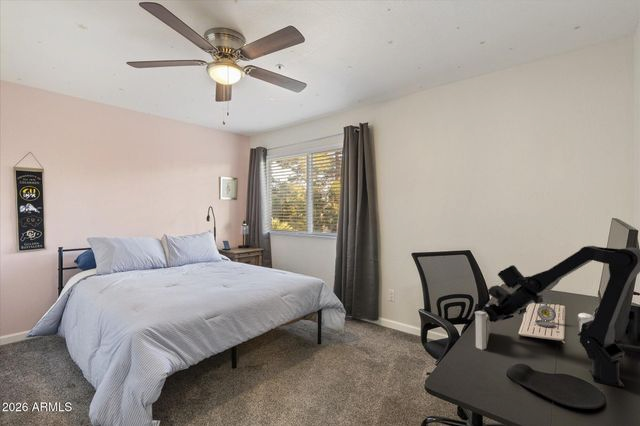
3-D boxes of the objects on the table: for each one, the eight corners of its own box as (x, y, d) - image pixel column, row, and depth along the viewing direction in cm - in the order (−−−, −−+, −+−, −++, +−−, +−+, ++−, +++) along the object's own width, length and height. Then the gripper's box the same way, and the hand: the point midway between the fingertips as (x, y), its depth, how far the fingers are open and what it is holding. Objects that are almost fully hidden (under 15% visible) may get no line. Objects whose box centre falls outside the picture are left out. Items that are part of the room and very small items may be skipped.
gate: (487, 345, 111) (486, 319, 111) (482, 345, 112) (482, 319, 112) (490, 331, 125) (489, 308, 124) (486, 330, 125) (486, 307, 125)
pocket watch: (539, 327, 130) (539, 303, 130) (530, 320, 138) (530, 298, 138) (561, 328, 128) (561, 304, 128) (551, 321, 136) (551, 299, 136)
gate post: (482, 350, 109) (481, 314, 109) (474, 347, 112) (474, 311, 112) (487, 348, 110) (486, 312, 110) (479, 345, 113) (479, 310, 113)
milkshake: (599, 340, 116) (599, 313, 116) (582, 339, 118) (582, 312, 117) (591, 335, 121) (591, 309, 121) (575, 334, 122) (575, 309, 122)
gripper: (517, 277, 120) (491, 299, 130) (487, 283, 112) (461, 305, 121) (540, 302, 113) (510, 323, 123) (509, 310, 104) (480, 332, 114)
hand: (490, 320), depth 120 cm, fingers closed
